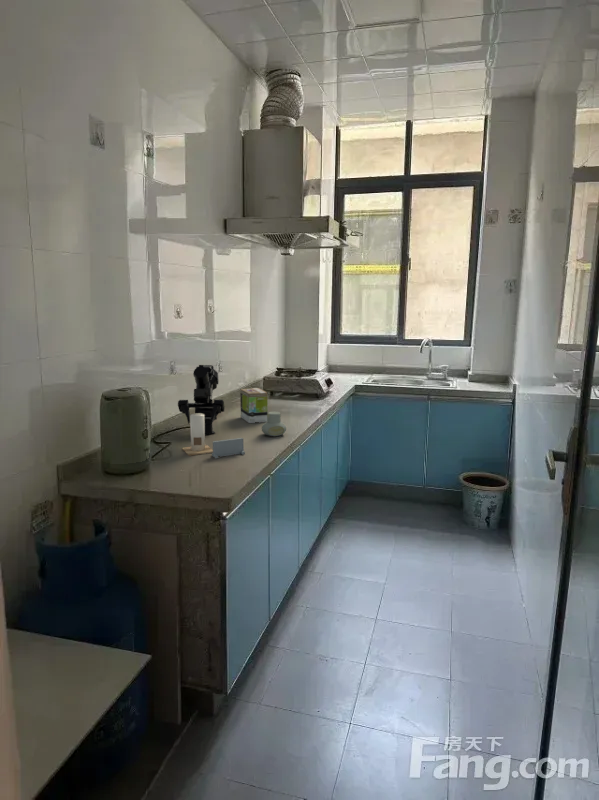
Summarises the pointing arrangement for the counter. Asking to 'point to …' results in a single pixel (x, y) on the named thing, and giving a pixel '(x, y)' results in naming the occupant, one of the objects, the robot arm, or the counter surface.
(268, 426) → the air freshener
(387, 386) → the counter surface
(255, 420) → the tea box
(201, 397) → the robot arm
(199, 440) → the canister
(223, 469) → the counter surface
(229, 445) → the screen
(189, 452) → the mat
